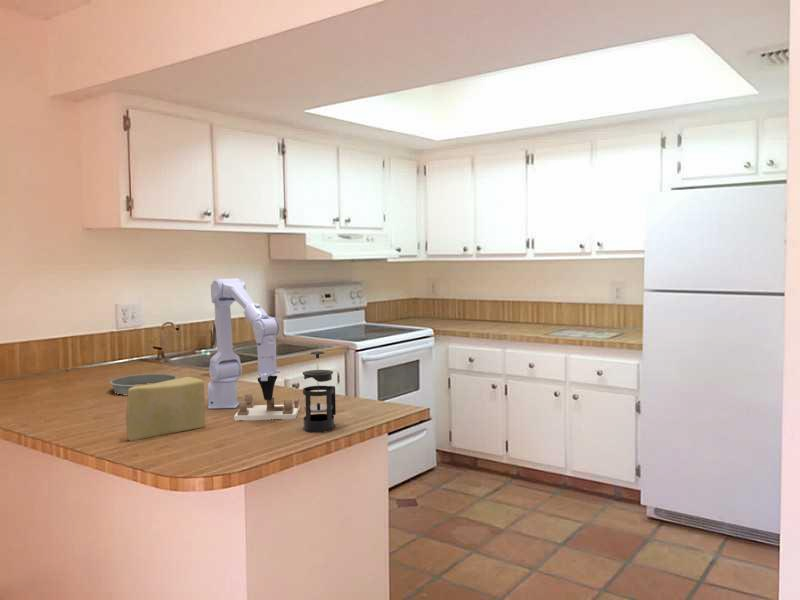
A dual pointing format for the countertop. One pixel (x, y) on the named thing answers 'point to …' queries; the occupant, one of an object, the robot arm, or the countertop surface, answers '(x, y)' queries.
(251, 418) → the white board with posts
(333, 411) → the french press
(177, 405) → the cheese
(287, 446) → the countertop surface
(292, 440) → the countertop surface
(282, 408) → the hinged leg
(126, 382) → the cake pan
